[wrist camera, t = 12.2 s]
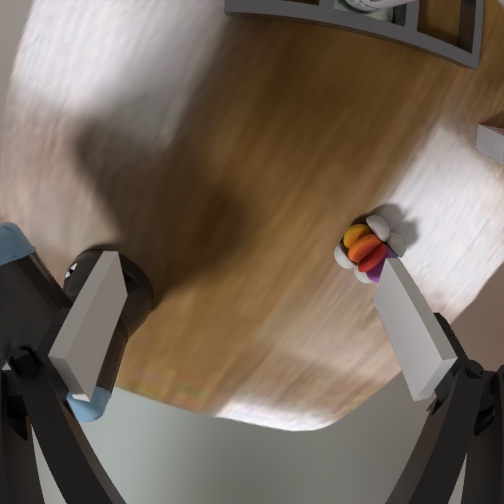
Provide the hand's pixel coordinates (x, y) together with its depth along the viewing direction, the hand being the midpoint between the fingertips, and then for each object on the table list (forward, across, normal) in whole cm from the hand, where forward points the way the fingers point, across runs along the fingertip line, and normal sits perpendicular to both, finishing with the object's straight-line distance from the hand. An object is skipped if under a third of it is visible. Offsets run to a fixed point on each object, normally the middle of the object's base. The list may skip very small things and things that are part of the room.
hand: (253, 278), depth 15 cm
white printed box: (+24, +35, +6) cm, 43 cm away
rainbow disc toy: (+25, +18, -13) cm, 33 cm away
